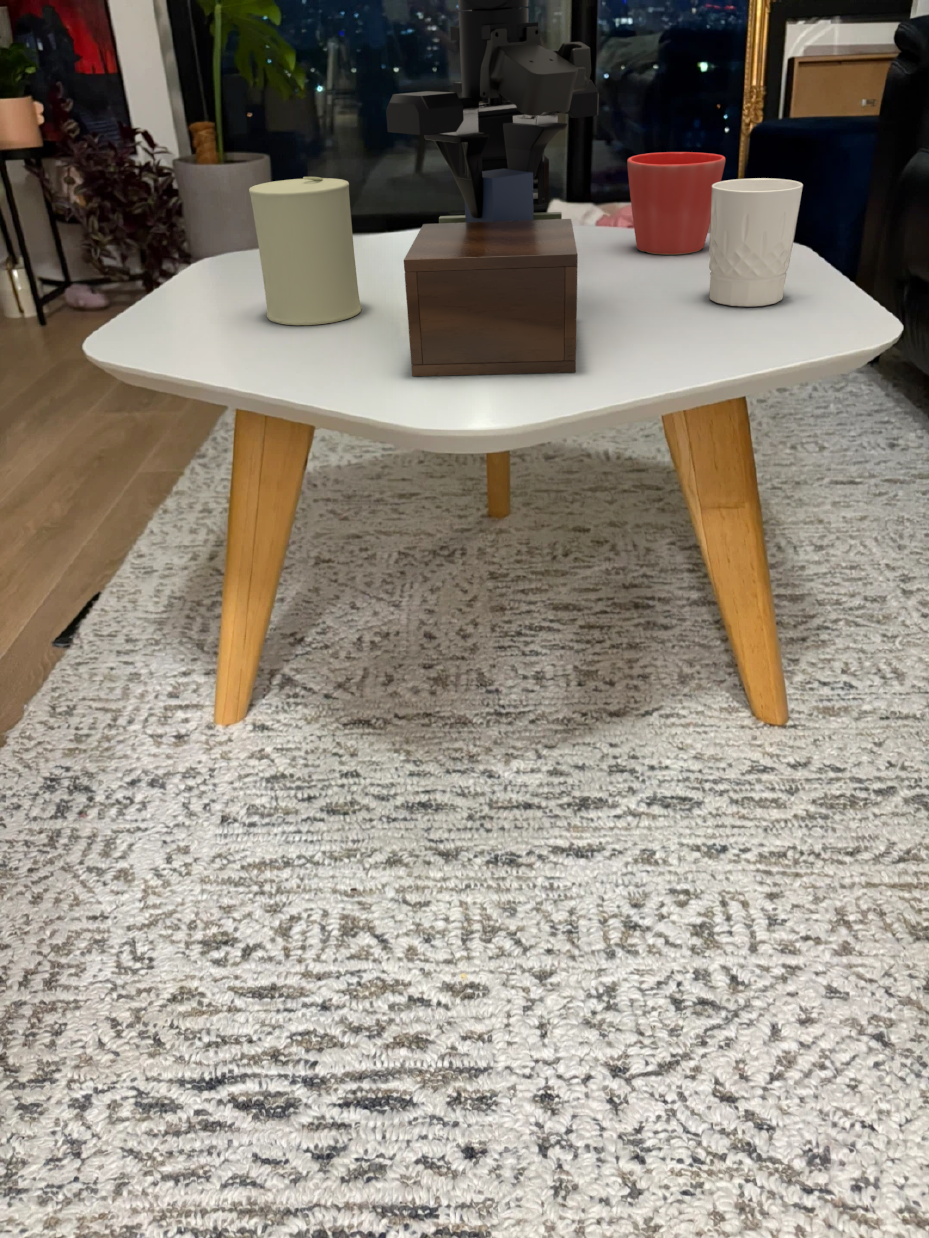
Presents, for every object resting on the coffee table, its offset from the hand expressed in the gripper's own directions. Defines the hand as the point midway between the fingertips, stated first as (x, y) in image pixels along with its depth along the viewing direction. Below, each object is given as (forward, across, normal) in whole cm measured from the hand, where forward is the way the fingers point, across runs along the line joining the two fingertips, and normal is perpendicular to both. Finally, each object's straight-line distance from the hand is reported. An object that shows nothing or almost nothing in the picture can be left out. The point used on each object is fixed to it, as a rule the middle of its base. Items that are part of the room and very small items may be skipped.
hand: (498, 214), depth 88 cm
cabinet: (+9, -7, -9) cm, 14 cm away
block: (+1, 0, 0) cm, 1 cm away
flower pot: (+9, +32, +10) cm, 34 cm away
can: (+9, -13, +13) cm, 20 cm away
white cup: (+9, +20, -12) cm, 25 cm away
